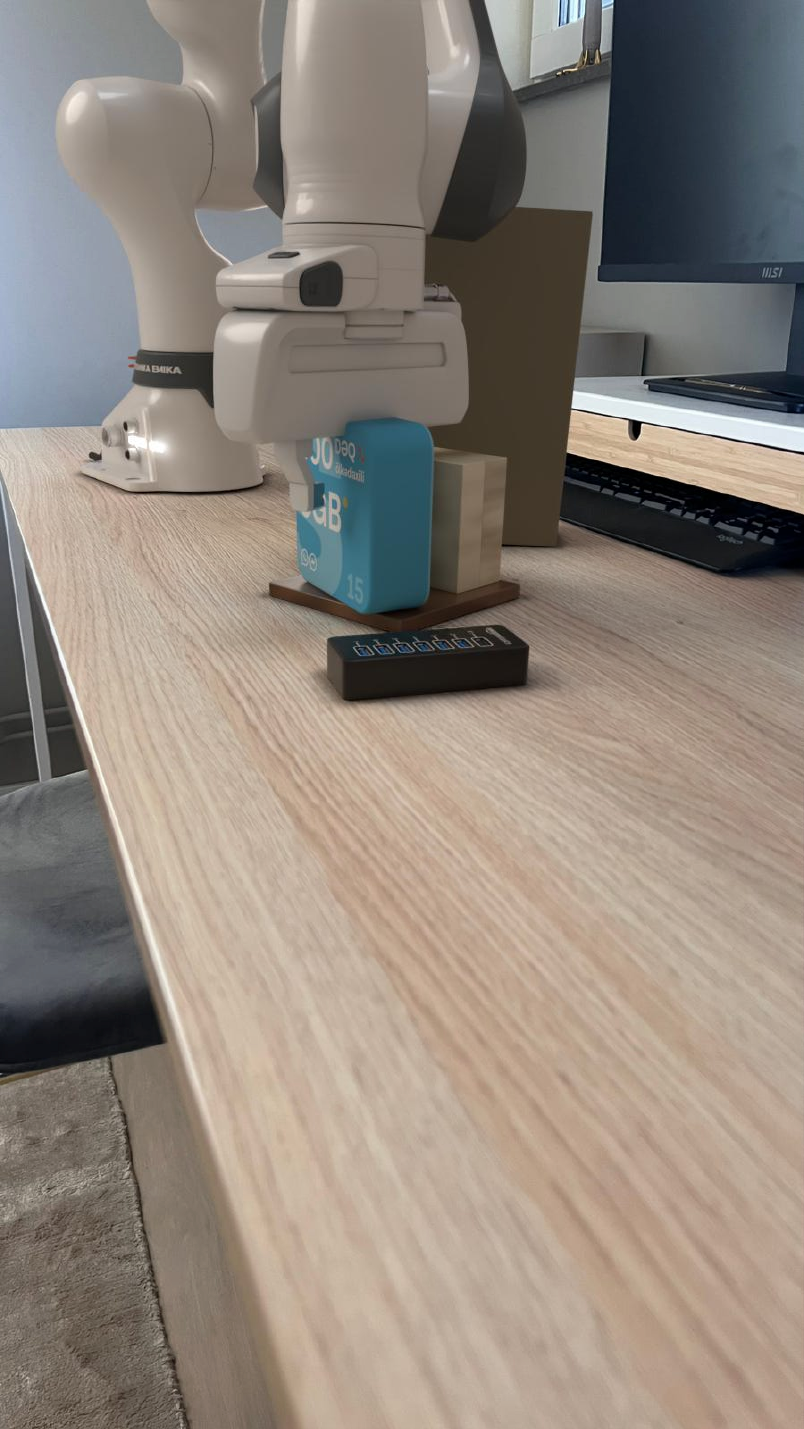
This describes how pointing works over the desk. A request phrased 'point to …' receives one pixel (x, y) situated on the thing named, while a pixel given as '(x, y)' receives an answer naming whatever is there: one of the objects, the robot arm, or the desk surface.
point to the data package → (371, 516)
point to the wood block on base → (442, 549)
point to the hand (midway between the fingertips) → (352, 502)
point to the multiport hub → (426, 661)
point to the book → (519, 353)
